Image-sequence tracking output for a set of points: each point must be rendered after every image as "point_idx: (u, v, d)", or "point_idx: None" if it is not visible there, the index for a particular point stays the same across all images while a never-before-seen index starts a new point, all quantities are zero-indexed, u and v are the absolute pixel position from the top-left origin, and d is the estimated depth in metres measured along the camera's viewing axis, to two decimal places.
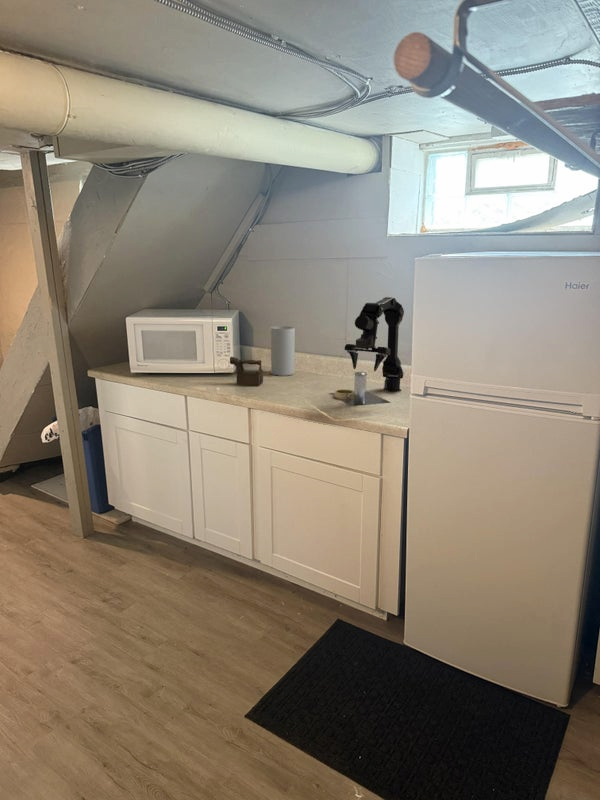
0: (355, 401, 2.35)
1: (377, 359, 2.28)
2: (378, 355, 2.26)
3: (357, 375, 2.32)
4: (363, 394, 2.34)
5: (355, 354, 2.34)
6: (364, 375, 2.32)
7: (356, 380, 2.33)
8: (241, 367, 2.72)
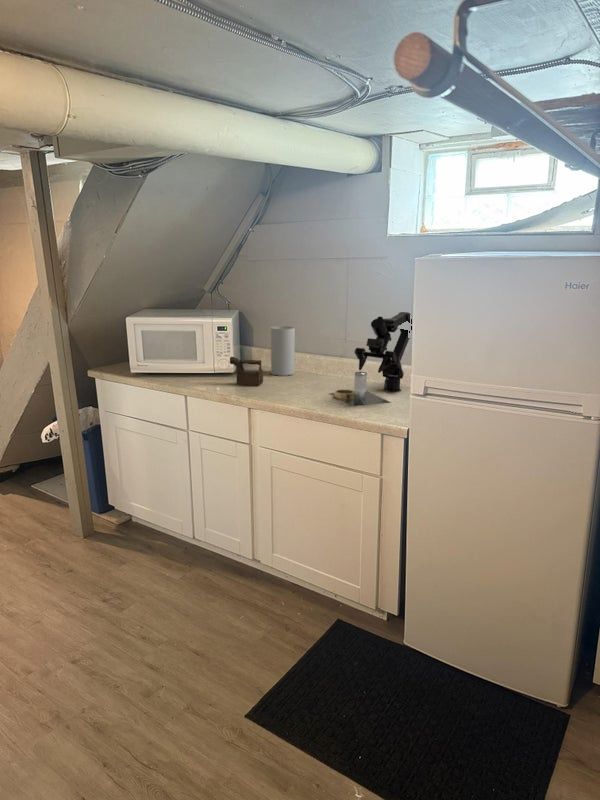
0: (355, 401, 2.35)
1: (383, 361, 2.38)
2: (385, 357, 2.37)
3: (357, 375, 2.32)
4: (363, 394, 2.34)
5: (363, 358, 2.45)
6: (364, 375, 2.32)
7: (356, 380, 2.33)
8: (241, 367, 2.72)
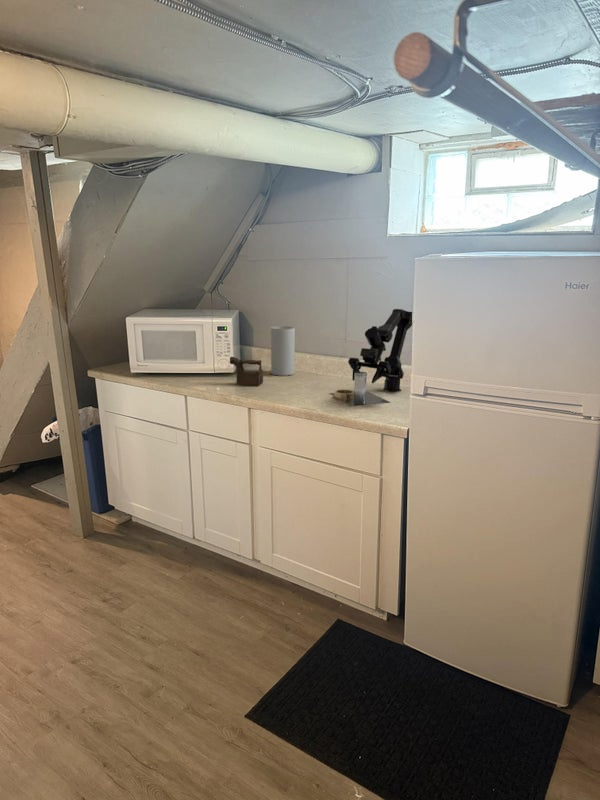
0: (355, 401, 2.35)
1: (377, 371, 2.34)
2: (379, 367, 2.34)
3: (357, 375, 2.32)
4: (363, 394, 2.34)
5: (357, 368, 2.42)
6: (364, 375, 2.32)
7: (356, 380, 2.33)
8: (241, 367, 2.72)
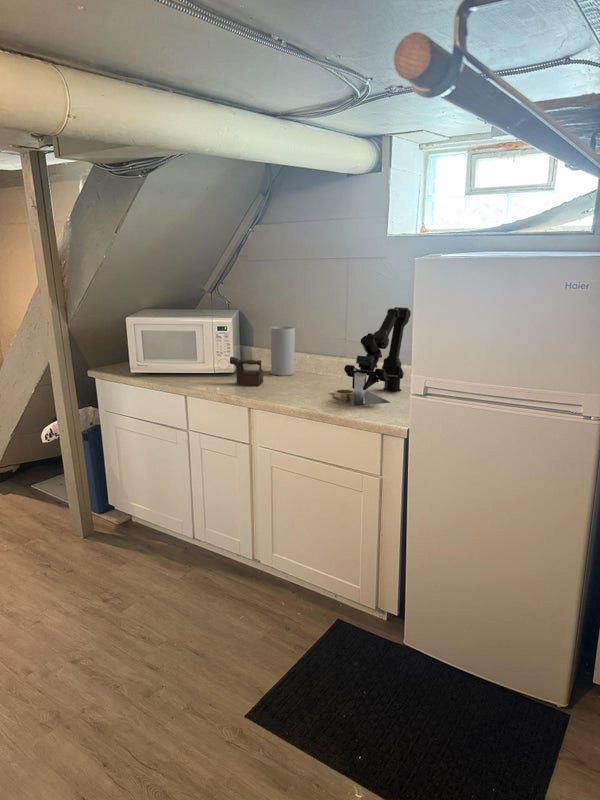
0: (355, 401, 2.35)
1: (369, 378, 2.33)
2: (371, 374, 2.33)
3: (357, 375, 2.32)
4: (363, 394, 2.34)
5: None
6: (364, 375, 2.32)
7: (356, 380, 2.33)
8: (241, 367, 2.72)
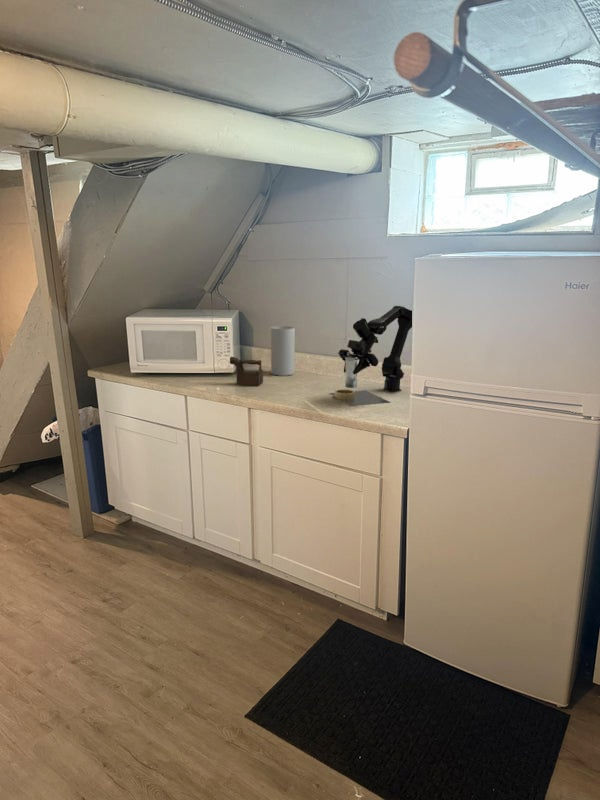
0: (346, 385, 2.39)
1: (359, 363, 2.36)
2: (361, 358, 2.36)
3: (347, 359, 2.36)
4: (353, 378, 2.37)
5: None
6: (354, 359, 2.35)
7: (346, 364, 2.37)
8: (241, 367, 2.72)
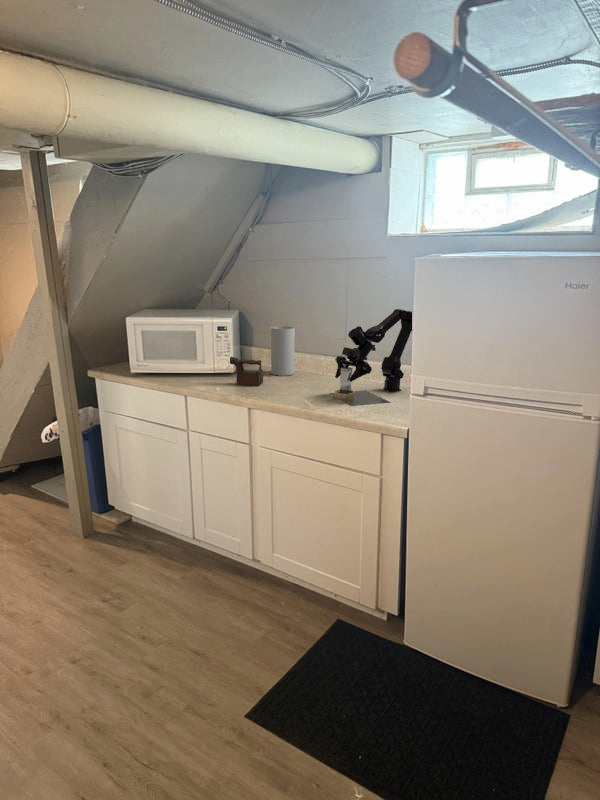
0: None
1: (356, 370, 2.40)
2: (357, 366, 2.39)
3: (342, 370, 2.42)
4: (347, 389, 2.43)
5: (342, 366, 2.49)
6: (348, 370, 2.41)
7: (341, 374, 2.43)
8: (241, 367, 2.72)
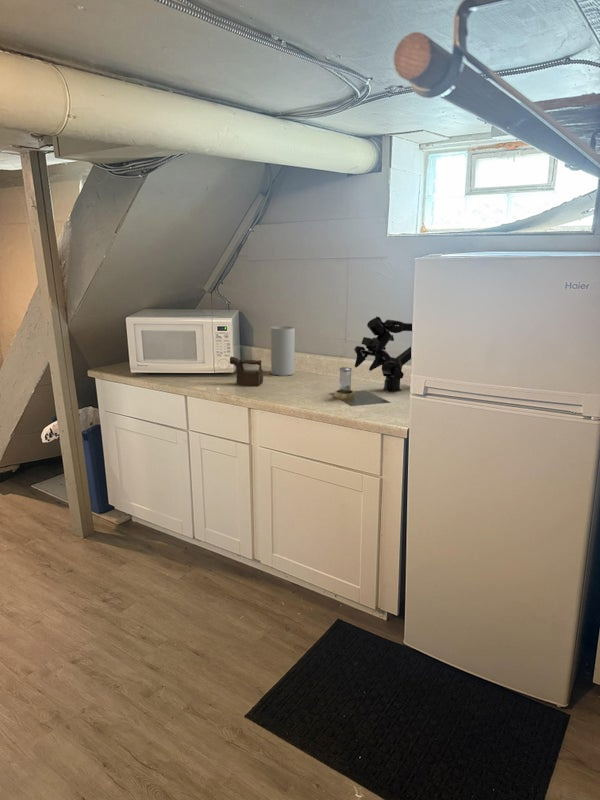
0: None
1: (375, 360, 2.46)
2: (377, 355, 2.45)
3: (341, 370, 2.42)
4: (346, 389, 2.43)
5: (361, 356, 2.55)
6: (347, 370, 2.41)
7: (340, 375, 2.43)
8: (241, 367, 2.72)
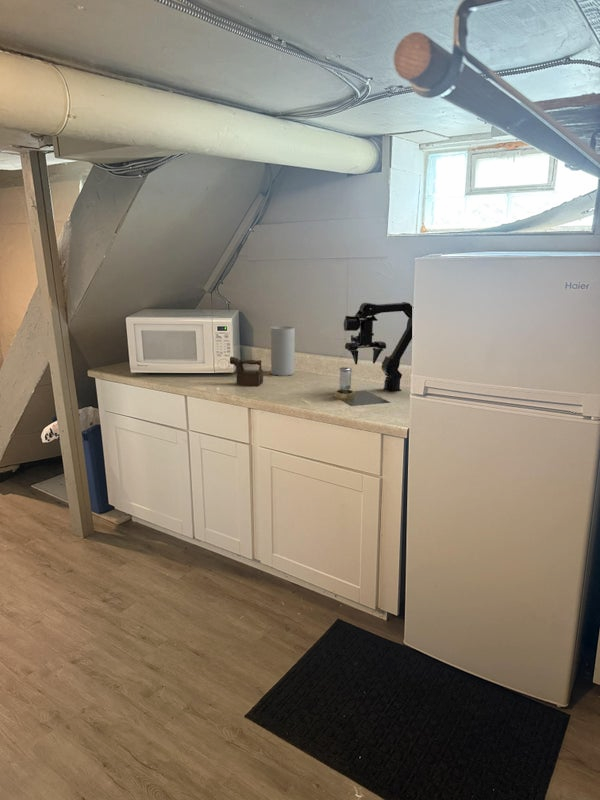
0: None
1: None
2: None
3: (341, 370, 2.42)
4: (346, 389, 2.43)
5: (375, 350, 2.59)
6: (347, 371, 2.41)
7: (340, 375, 2.43)
8: (241, 367, 2.72)
